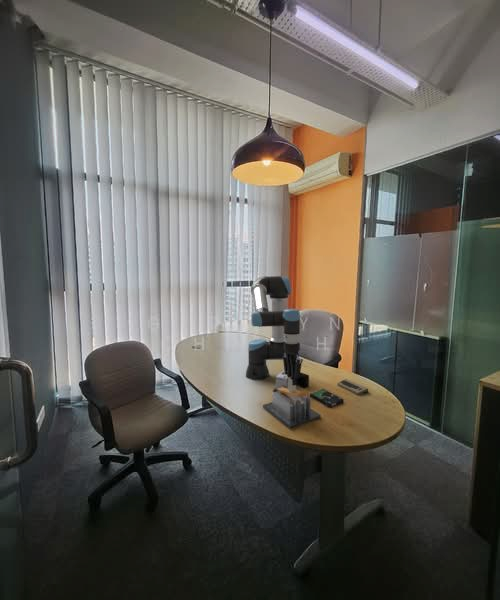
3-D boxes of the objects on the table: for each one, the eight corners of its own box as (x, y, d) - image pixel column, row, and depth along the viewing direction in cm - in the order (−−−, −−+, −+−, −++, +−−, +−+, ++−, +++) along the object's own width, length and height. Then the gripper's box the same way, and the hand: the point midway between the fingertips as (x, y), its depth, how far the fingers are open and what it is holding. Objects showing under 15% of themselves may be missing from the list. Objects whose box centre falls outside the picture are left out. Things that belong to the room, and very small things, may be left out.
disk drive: (344, 404, 144) (323, 393, 156) (344, 399, 143) (323, 388, 156) (329, 409, 138) (309, 397, 151) (329, 404, 138) (309, 392, 151)
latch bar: (276, 390, 141) (275, 387, 141) (282, 389, 143) (282, 385, 143) (299, 398, 125) (299, 394, 125) (306, 395, 127) (306, 392, 127)
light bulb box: (282, 387, 163) (282, 370, 162) (293, 390, 160) (293, 372, 158) (275, 395, 153) (275, 376, 152) (286, 397, 150) (286, 378, 149)
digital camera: (289, 383, 169) (289, 372, 168) (294, 381, 172) (295, 370, 172) (303, 389, 161) (303, 377, 160) (308, 386, 165) (308, 374, 164)
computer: (336, 386, 165) (337, 380, 165) (346, 383, 169) (346, 378, 169) (358, 396, 152) (358, 390, 151) (368, 393, 155) (368, 387, 155)
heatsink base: (262, 407, 139) (262, 387, 138) (291, 399, 148) (291, 380, 147) (290, 429, 121) (290, 406, 119) (320, 418, 129) (321, 396, 128)
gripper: (276, 340, 134) (277, 387, 136) (294, 346, 123) (295, 397, 124) (289, 338, 138) (289, 384, 140) (307, 343, 126) (308, 394, 128)
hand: (292, 390), depth 132 cm, fingers closed
